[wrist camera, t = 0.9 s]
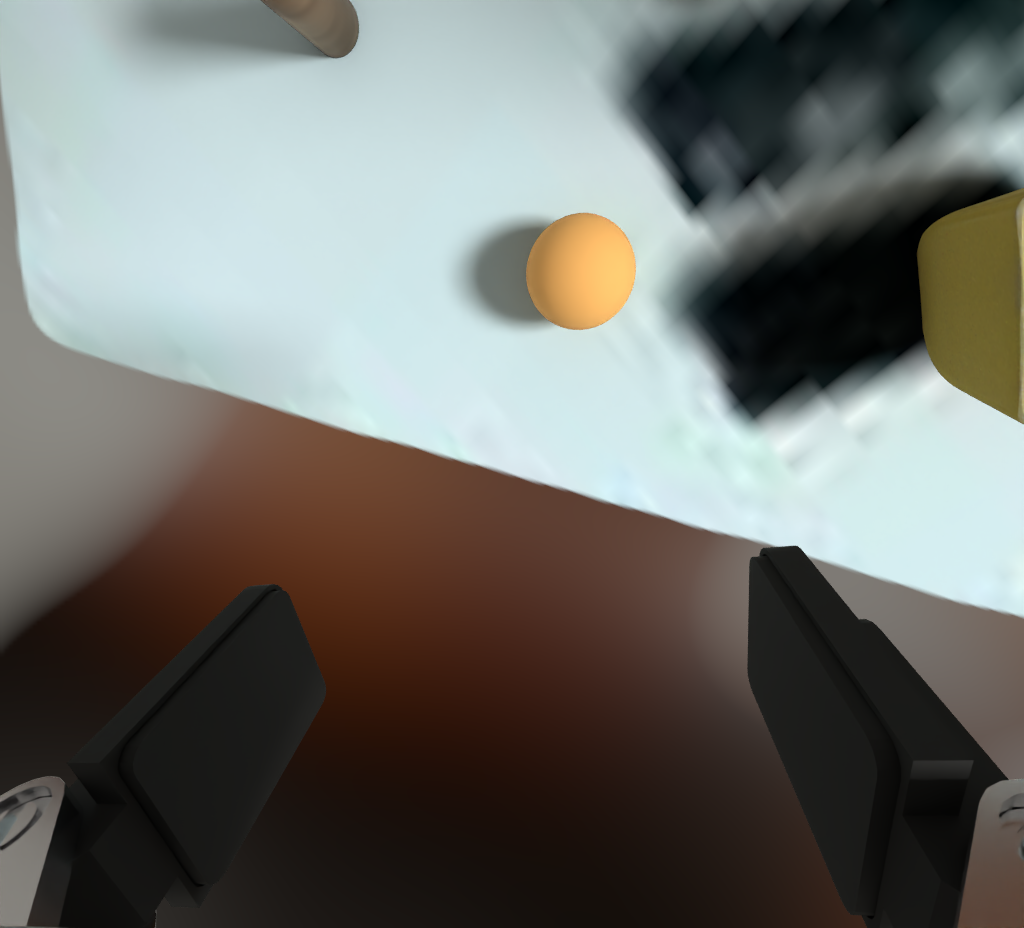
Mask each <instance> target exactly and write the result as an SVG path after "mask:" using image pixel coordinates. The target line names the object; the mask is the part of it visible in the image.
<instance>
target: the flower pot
mask: <svg viewBox="0 0 1024 928" xmlns="http://www.w3.org/2000/svg"><path fill="white" fill-rule="evenodd" d="M917 261H918V273H919V283H920V294H921V309H922V324H923V333H924V338H925V343H926V347H927V350H928V353H929V356H930V358H931V361H932V362H933V364H934V366H935V367H936V369H937V370H938V372H939V373H940V374H941V375H942V376H943V377H944V378H945V379H946V380H947V381H948V382H949V383H950V384H952V385H953V386H955V387H956V388H958V389H960V390H961V391H963V392H965V393H967V394H969V395H970V396H972V397H974V398H976V399H978V400H980V401H981V402H983V403H985V404H987V405H989V406H991V407H992V408H994V409H996V410H998V411H1000V412H1002V413H1004V414H1005V415H1007V416H1009V417H1011V418H1013V419H1015V420H1017V421H1018V422H1020V423H1022V424H1024V188H1022V189H1019V190H1016V191H1014V192H1011V193H1008V194H1005V195H1002V196H999V197H996V198H993V199H990V200H987V201H984V202H981V203H978V204H975V205H972V206H969V207H966V208H963V209H960V210H958V211H955V212H953V213H950V214H948V215H946V216H944V217H942V218H941V219H939V220H937V221H936V222H934V223H933V224H932V225H931V226H930V227H929V228H928V229H927V230H926V231H925V232H924V233H923V235H922V237H921V239H920V242H919V246H918V250H917Z"/></svg>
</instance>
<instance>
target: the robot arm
mask: <svg viewBox="0 0 1024 928" xmlns="http://www.w3.org/2000/svg"><path fill="white" fill-rule="evenodd" d="M748 622H749V624H748V677H749V682H750V686H751V689H752V691H753V694H754V696H755V699H756V701H757V703H758V706H759V708H760V711H761V713H762V715H763V718H764V720H765V722H766V725H767V727H768V729H769V732H770V734H771V736H772V739H773V741H774V743H775V746H776V748H777V750H778V753H779V755H780V758H781V760H782V762H783V764H784V767H785V769H786V772H787V774H788V776H789V779H790V781H791V783H792V785H793V788H794V790H795V793H796V795H797V797H798V800H799V802H800V804H801V807H802V809H803V812H804V814H805V816H806V818H807V821H808V823H809V826H810V828H811V830H812V833H813V835H814V837H815V840H816V842H817V844H818V847H819V849H820V851H821V854H822V856H823V858H824V861H825V863H826V865H827V868H828V870H829V873H830V875H831V877H832V880H833V882H834V884H835V887H836V889H837V891H838V893H839V896H840V898H841V900H842V902H843V904H844V906H845V908H846V909H847V911H848V912H849V913H850V914H851V915H862V917H863V920H864V921H865V924H866V926H867V928H1024V779H1018V780H1009V779H1008V778H1007V777H1006V776H1005V775H1004V774H1003V772H1002V771H1001V770H1000V769H999V768H998V767H997V765H996V764H995V763H994V762H993V761H992V760H991V759H990V757H989V756H988V755H987V754H986V753H985V752H984V750H983V749H982V748H981V747H980V746H979V744H977V742H976V741H975V740H974V738H973V737H972V736H971V735H970V734H969V733H968V731H967V730H966V729H965V728H964V727H963V726H962V724H961V723H960V722H959V721H958V720H957V719H956V717H955V716H954V715H953V714H952V713H951V712H950V710H949V709H948V708H947V707H946V706H945V705H944V703H943V702H942V701H941V700H940V699H939V697H937V695H936V694H935V693H934V692H933V690H932V689H931V688H930V687H929V686H928V685H927V684H926V682H925V681H924V680H923V679H922V678H921V676H920V675H919V674H918V673H917V672H916V671H915V669H914V668H913V667H912V666H911V665H910V664H909V662H908V661H907V660H906V659H905V658H904V656H903V655H902V654H901V653H900V652H899V651H898V650H897V648H896V647H895V646H894V645H893V644H892V642H891V641H890V640H889V639H888V638H887V637H886V636H885V634H884V633H883V632H882V631H881V630H880V629H879V628H878V627H877V626H876V625H875V624H874V623H873V622H871V621H869V620H867V619H860V620H859V619H858V618H857V617H856V616H855V615H854V613H853V612H852V611H851V610H850V608H849V607H848V606H847V605H846V604H845V602H844V601H843V600H842V599H841V597H840V596H839V595H838V594H837V592H835V590H834V589H833V588H832V586H831V585H830V584H829V583H828V582H827V580H826V579H825V578H824V576H823V575H822V574H821V573H820V572H819V570H818V569H817V568H816V567H815V565H814V564H813V563H812V562H811V561H810V559H809V558H808V557H807V556H806V554H805V553H804V552H803V551H802V550H801V549H800V548H799V547H798V546H785V547H771V548H763V549H762V550H761V552H760V556H759V557H752V558H751V559H750V566H749V619H748ZM325 694H326V686H325V682H324V680H323V677H322V675H321V672H320V670H319V667H318V665H317V662H316V660H315V657H314V655H313V653H312V650H311V648H310V645H309V643H308V640H307V638H306V635H305V633H304V631H303V628H302V626H301V623H300V621H299V618H298V616H297V613H296V611H295V609H294V606H293V604H292V601H291V599H290V596H289V595H288V593H287V592H286V591H283V590H282V588H281V587H279V586H278V585H275V584H271V585H258V586H250V587H247V588H246V589H244V590H243V591H242V592H241V593H240V594H239V595H238V596H237V597H236V598H235V599H234V600H233V601H232V602H231V603H230V604H229V605H228V606H227V607H226V608H225V609H224V610H223V611H222V612H221V613H220V614H218V616H216V617H215V619H213V620H212V621H211V622H210V623H209V624H208V626H206V627H205V628H204V629H203V630H202V631H201V632H200V633H199V634H198V635H197V636H196V637H195V638H194V639H193V640H192V641H191V642H190V643H189V644H188V645H187V646H186V647H185V648H184V649H183V650H182V651H181V652H180V653H179V654H178V655H177V656H176V657H175V658H174V659H173V660H172V661H171V662H170V663H169V664H168V665H167V666H166V667H164V669H163V670H161V671H160V672H159V673H158V674H157V675H156V676H155V677H154V678H153V679H152V680H151V681H150V682H149V683H148V684H147V685H146V686H145V687H144V688H143V689H142V690H141V691H140V692H139V693H138V694H137V695H136V696H135V697H134V698H133V699H132V700H131V701H130V702H129V703H128V704H127V705H126V706H125V707H124V708H123V709H122V710H121V711H120V712H119V713H118V714H117V715H116V716H114V717H113V719H111V720H110V722H108V723H107V724H106V725H105V726H104V727H103V728H102V729H101V730H100V731H99V732H98V733H97V734H96V735H95V736H94V737H93V738H92V739H91V740H90V741H89V742H88V743H87V744H86V745H85V746H84V747H83V748H82V749H81V750H80V751H79V752H78V753H77V754H76V755H75V756H74V757H73V758H72V759H71V760H70V761H69V762H68V763H67V764H68V765H69V766H70V768H71V769H72V771H73V772H74V773H75V775H76V776H77V777H78V779H77V780H76V781H75V783H74V784H73V785H72V786H71V787H70V788H68V787H67V786H66V784H65V783H64V782H63V781H62V780H61V779H60V778H59V777H51V776H48V777H43V778H39V779H35V780H32V781H29V782H27V783H25V784H22V785H20V786H17V787H16V788H14V789H12V790H10V791H9V792H7V793H5V794H3V795H1V796H0V928H155V927H156V909H157V907H158V905H159V904H160V902H161V901H162V899H163V898H164V897H165V898H166V900H167V901H168V903H169V904H170V905H171V906H172V907H190V908H200V906H201V904H202V903H203V901H204V899H205V898H206V896H207V894H208V892H209V891H210V889H211V887H212V886H213V884H215V883H216V882H218V881H219V880H220V879H221V878H222V877H223V875H224V874H225V872H226V871H227V869H228V867H229V866H230V864H231V862H232V860H233V859H234V857H235V855H236V853H237V852H238V850H239V848H240V846H241V845H242V843H243V841H244V839H245V838H246V836H247V834H248V832H249V831H250V829H251V827H252V825H253V824H254V822H255V820H256V818H257V817H258V815H259V813H260V812H261V810H262V808H263V806H264V804H265V803H266V801H267V799H268V798H269V796H270V794H271V792H272V790H273V789H274V787H275V785H276V784H277V782H278V780H279V778H280V777H281V775H282V773H283V771H284V770H285V768H286V766H287V764H288V763H289V761H290V759H291V757H292V756H293V754H294V752H295V750H296V749H297V747H298V745H299V743H300V742H301V740H302V738H303V736H304V735H305V733H306V731H307V729H308V728H309V726H310V724H311V722H312V721H313V719H314V717H315V715H316V714H317V712H318V710H319V708H320V707H321V705H322V703H323V701H324V698H325Z"/></svg>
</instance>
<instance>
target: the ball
mask: <svg viewBox="0 0 1024 928" xmlns="http://www.w3.org/2000/svg"><path fill="white" fill-rule="evenodd" d="M635 272H636V265H635V257H634V252H633V249H632V246H631V244H630V242H629V240H628V238H627V237H626V235H625V234H624V232H623V231H622V230H621V229H620V228H619V227H618V226H617V225H616V224H615V223H613V222H612V221H610V220H609V219H607V218H604V217H602V216H599V215H596V214H590V213H577V214H571V215H568V216H565V217H563V218H561V219H559V220H557V221H555V222H554V223H552V224H551V225H550V226H548V227H547V228H546V229H545V230H544V231H543V232H542V233H541V234H540V236H539V237H538V239H537V240H536V241H535V243H534V245H533V247H532V249H531V252H530V255H529V258H528V262H527V269H526V280H527V287H528V291H529V294H530V297H531V299H532V301H533V303H534V305H535V306H536V308H537V309H538V311H539V312H540V313H541V314H542V315H543V316H544V317H545V318H546V319H548V320H549V321H550V322H552V323H554V324H555V325H558V326H560V327H563V328H567V329H573V330H583V329H589V328H593V327H596V326H599V325H601V324H603V323H605V322H606V321H608V320H609V319H611V318H612V317H613V316H615V315H616V314H617V313H618V312H619V311H620V309H621V308H622V307H623V306H624V304H625V303H626V301H627V299H628V297H629V295H630V293H631V291H632V288H633V285H634V280H635Z"/></svg>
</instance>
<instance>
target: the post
mask: <svg viewBox="0 0 1024 928" xmlns="http://www.w3.org/2000/svg"><path fill="white" fill-rule="evenodd" d="M261 1H262V2H263V3H264V4H266V5H267V6H268V7H269V8H270V9H272V10H273V11H274V12H275V13H276V14H278V15H279V16H280V17H281V18H282V19H284V20H285V21H286V22H287V23H288V24H289V25H291V26H292V27H293V28H294V29H295V30H297V31H298V32H299V33H300V34H301V35H303V36H304V37H305V38H306V39H307V40H309V41H310V42H311V43H312V44H313V45H314V46H316V47H317V48H318V49H319V50H320V51H322V52H323V53H324V54H326V55H328V56H330V57H334V58H339V57H343V56H345V55H347V54H348V53H349V52H351V50H352V49H353V48H354V46H355V44H356V42H357V39H358V33H359V23H358V17H357V14H356V11H355V9H354V7H353V5H352V3H351V2H350V1H349V0H261Z"/></svg>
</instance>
